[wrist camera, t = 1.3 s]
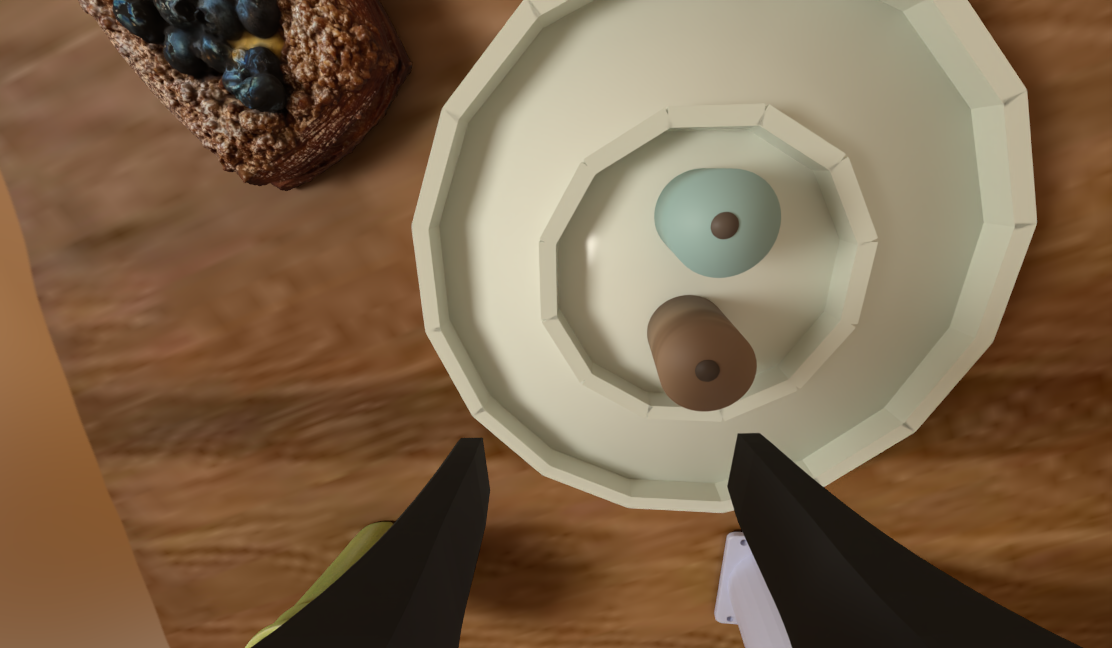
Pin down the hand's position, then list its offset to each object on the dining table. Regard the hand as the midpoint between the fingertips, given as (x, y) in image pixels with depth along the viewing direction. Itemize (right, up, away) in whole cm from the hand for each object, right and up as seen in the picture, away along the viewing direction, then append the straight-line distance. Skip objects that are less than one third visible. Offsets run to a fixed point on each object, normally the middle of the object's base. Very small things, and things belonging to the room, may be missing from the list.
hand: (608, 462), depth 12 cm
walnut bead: (+5, +4, +10) cm, 12 cm away
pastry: (-15, +17, +8) cm, 24 cm away
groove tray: (+5, +7, +10) cm, 13 cm away
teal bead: (+5, +9, +8) cm, 13 cm away
